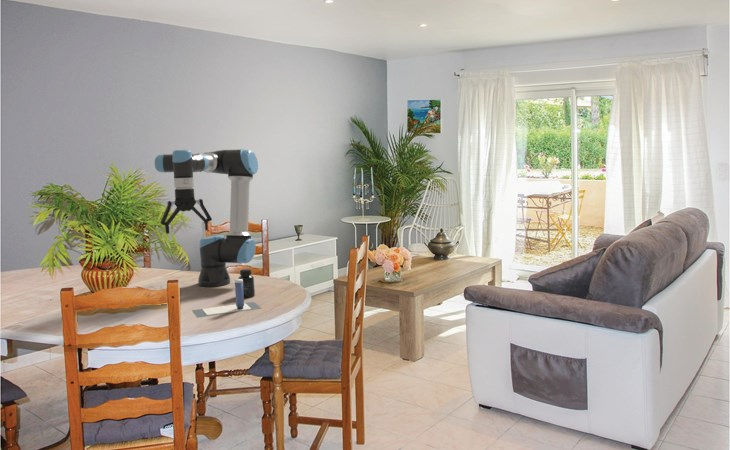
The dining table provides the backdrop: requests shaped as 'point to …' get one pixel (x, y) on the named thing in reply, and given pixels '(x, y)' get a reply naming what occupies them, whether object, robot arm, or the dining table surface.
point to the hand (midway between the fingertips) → (187, 239)
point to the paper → (224, 309)
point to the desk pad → (202, 314)
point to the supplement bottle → (247, 283)
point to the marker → (239, 293)
